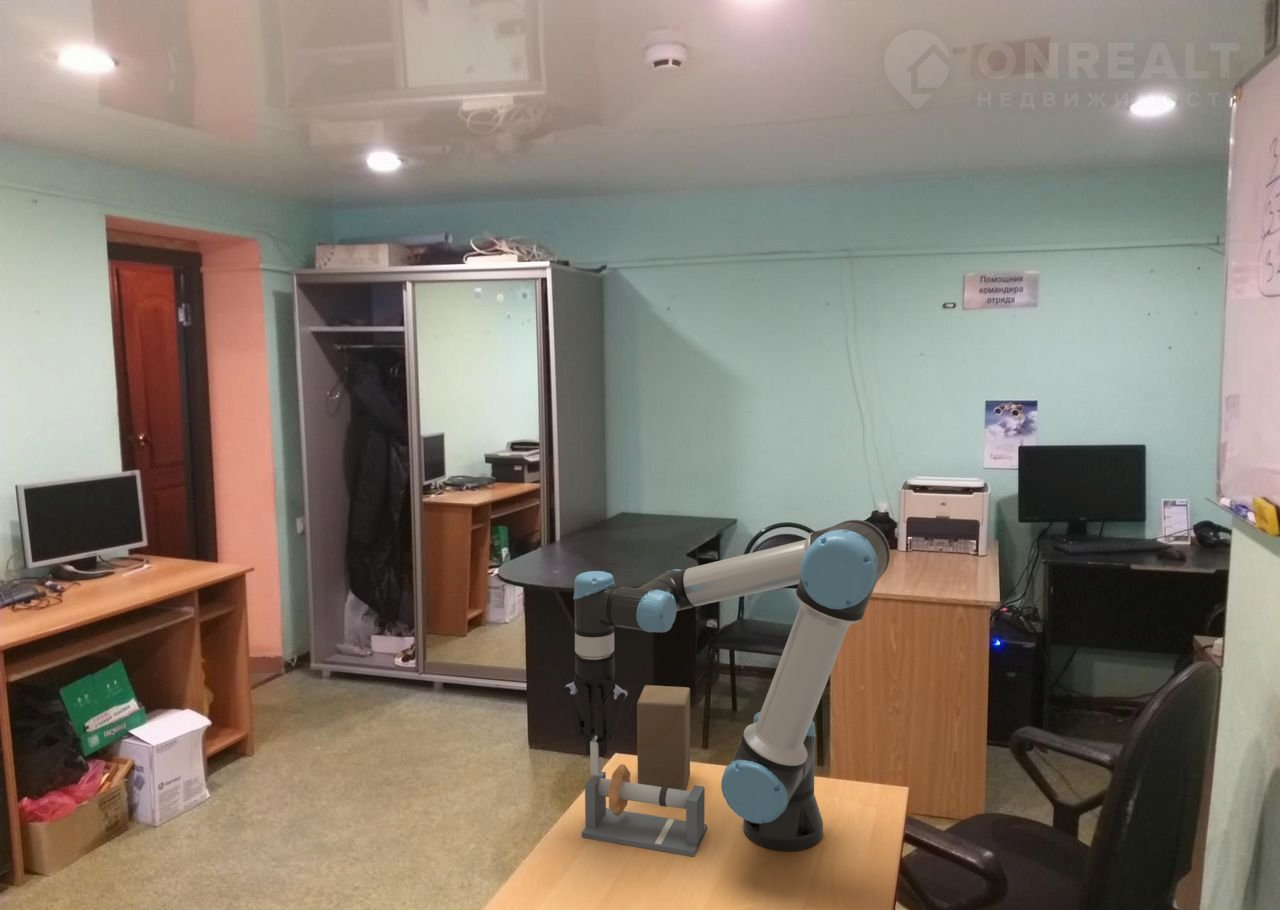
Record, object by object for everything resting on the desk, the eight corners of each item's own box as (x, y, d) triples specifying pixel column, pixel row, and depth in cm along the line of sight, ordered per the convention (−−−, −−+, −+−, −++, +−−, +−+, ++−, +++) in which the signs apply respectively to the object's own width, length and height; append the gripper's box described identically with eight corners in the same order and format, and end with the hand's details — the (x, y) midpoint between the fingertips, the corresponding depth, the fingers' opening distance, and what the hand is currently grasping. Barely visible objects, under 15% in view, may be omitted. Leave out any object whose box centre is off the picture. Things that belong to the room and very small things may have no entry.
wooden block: (637, 793, 187) (636, 701, 185) (644, 772, 197) (644, 684, 195) (684, 797, 186) (684, 704, 183) (690, 775, 195) (690, 686, 193)
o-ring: (631, 801, 177) (631, 758, 176) (616, 823, 168) (616, 778, 167) (623, 800, 177) (622, 757, 176) (607, 822, 169) (607, 777, 168)
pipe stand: (706, 829, 173) (707, 781, 172) (693, 856, 164) (693, 806, 162) (600, 811, 180) (599, 765, 179) (581, 837, 170) (581, 788, 169)
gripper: (633, 650, 172) (634, 767, 175) (570, 644, 176) (572, 758, 179) (620, 662, 165) (622, 784, 168) (555, 656, 169) (558, 775, 172)
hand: (596, 771), depth 173 cm, fingers closed
